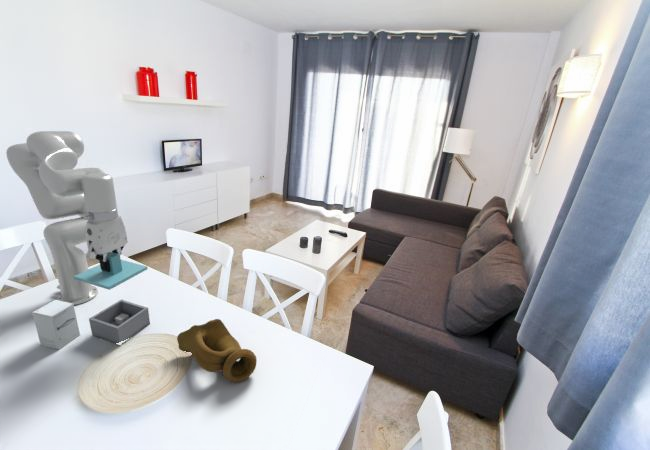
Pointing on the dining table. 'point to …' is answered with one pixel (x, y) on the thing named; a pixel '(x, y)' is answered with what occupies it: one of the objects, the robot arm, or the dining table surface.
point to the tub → (119, 321)
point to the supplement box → (56, 324)
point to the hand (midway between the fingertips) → (111, 267)
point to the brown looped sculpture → (217, 350)
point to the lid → (111, 272)
